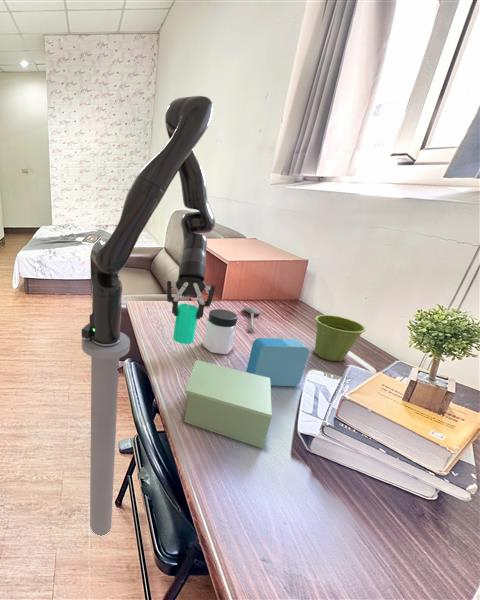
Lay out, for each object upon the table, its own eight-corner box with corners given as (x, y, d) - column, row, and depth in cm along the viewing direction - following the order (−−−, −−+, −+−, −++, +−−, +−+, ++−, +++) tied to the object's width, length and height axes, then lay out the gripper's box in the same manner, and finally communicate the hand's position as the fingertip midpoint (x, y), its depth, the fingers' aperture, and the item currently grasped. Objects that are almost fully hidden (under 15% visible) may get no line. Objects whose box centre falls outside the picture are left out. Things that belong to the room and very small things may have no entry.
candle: (191, 346, 90) (197, 308, 85) (170, 340, 92) (175, 303, 88) (195, 337, 94) (201, 301, 90) (176, 332, 97) (180, 297, 93)
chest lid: (184, 392, 68) (185, 389, 67) (195, 362, 79) (195, 359, 78) (271, 418, 60) (271, 415, 60) (269, 380, 71) (270, 378, 71)
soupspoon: (260, 313, 127) (242, 311, 130) (261, 305, 126) (243, 303, 129) (260, 333, 109) (239, 330, 112) (262, 325, 108) (241, 322, 111)
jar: (224, 357, 95) (231, 322, 90) (199, 348, 100) (204, 314, 96) (235, 347, 101) (242, 313, 96) (210, 338, 106) (216, 306, 102)
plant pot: (359, 370, 88) (373, 335, 84) (309, 360, 93) (320, 327, 89) (346, 350, 98) (358, 318, 94) (302, 343, 103) (311, 312, 99)
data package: (289, 376, 86) (300, 338, 81) (299, 387, 81) (311, 347, 77) (245, 375, 86) (253, 337, 82) (252, 385, 82) (261, 346, 78)
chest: (184, 422, 70) (188, 394, 67) (194, 388, 81) (198, 363, 78) (262, 448, 63) (271, 418, 60) (262, 407, 74) (269, 381, 71)
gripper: (168, 257, 94) (161, 308, 88) (219, 261, 89) (216, 315, 83) (167, 270, 100) (161, 317, 94) (215, 274, 96) (211, 324, 90)
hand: (186, 316), depth 89 cm, fingers closed on candle, 6 cm apart
